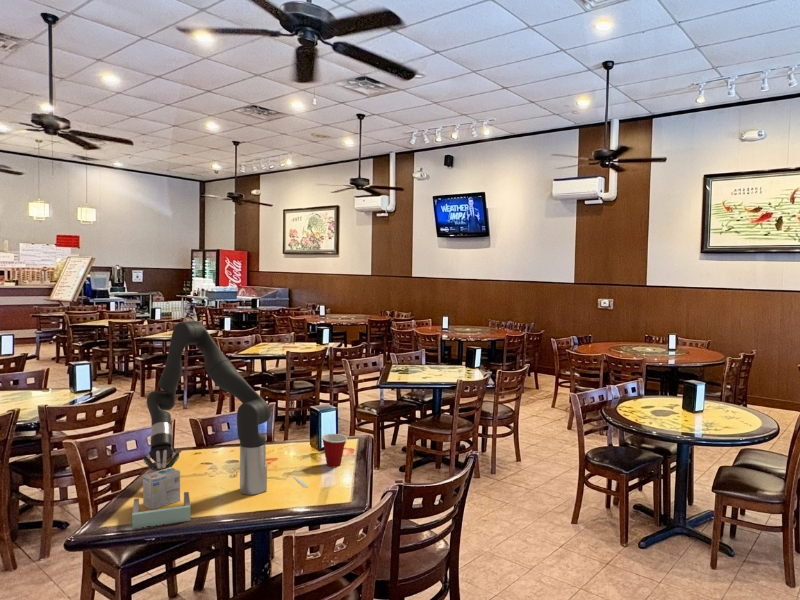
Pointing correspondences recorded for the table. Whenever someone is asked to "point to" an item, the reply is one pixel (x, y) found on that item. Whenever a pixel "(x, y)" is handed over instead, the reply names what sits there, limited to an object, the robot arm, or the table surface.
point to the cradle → (161, 514)
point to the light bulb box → (161, 488)
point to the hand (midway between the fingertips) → (161, 479)
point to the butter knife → (300, 482)
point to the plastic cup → (333, 448)
